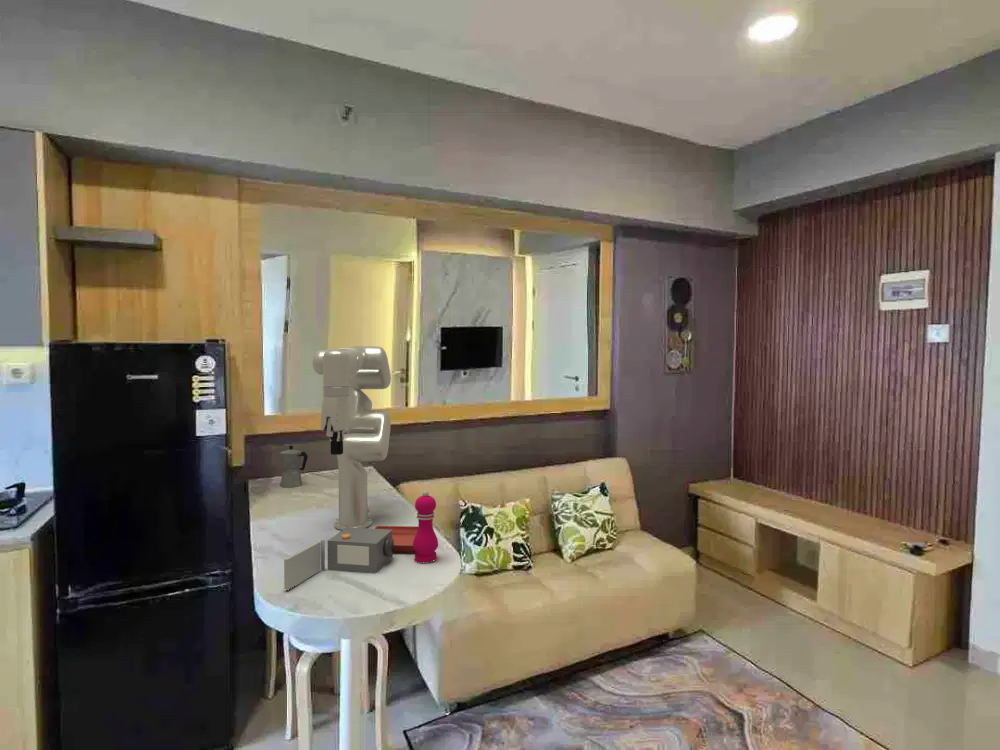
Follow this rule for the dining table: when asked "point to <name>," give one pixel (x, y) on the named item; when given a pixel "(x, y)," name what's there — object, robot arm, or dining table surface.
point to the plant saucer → (402, 537)
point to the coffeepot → (292, 467)
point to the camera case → (360, 549)
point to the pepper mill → (425, 529)
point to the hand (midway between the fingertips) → (336, 454)
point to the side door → (304, 564)
